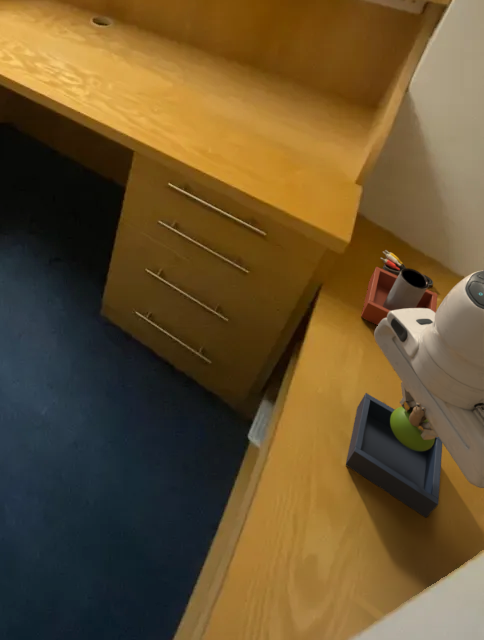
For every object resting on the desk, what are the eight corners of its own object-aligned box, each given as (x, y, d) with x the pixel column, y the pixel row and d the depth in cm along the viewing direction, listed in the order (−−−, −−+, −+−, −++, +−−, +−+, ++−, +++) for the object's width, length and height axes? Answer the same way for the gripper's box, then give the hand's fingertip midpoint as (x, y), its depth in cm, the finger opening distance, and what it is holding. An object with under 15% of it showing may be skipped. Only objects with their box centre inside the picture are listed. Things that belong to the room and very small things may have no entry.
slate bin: (357, 406, 87) (365, 392, 85) (431, 451, 81) (443, 437, 79) (345, 465, 80) (354, 451, 78) (426, 518, 74) (438, 504, 72)
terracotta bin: (369, 280, 108) (376, 266, 106) (429, 308, 103) (437, 294, 100) (360, 317, 101) (368, 302, 99) (424, 349, 96) (433, 335, 93)
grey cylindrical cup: (409, 308, 102) (428, 275, 97) (409, 326, 99) (429, 292, 94) (383, 297, 104) (401, 264, 99) (382, 314, 101) (400, 280, 96)
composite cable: (433, 282, 108) (437, 275, 107) (426, 296, 105) (431, 288, 104) (381, 254, 114) (385, 246, 113) (374, 266, 112) (378, 258, 110)
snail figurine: (374, 433, 78) (400, 389, 72) (397, 411, 81) (424, 367, 75) (411, 470, 74) (442, 426, 68) (434, 445, 76) (466, 401, 71)
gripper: (549, 457, 59) (496, 507, 66) (421, 298, 77) (390, 351, 84) (497, 461, 59) (450, 511, 66) (381, 301, 77) (353, 353, 83)
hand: (415, 420), depth 75 cm, fingers closed on snail figurine
